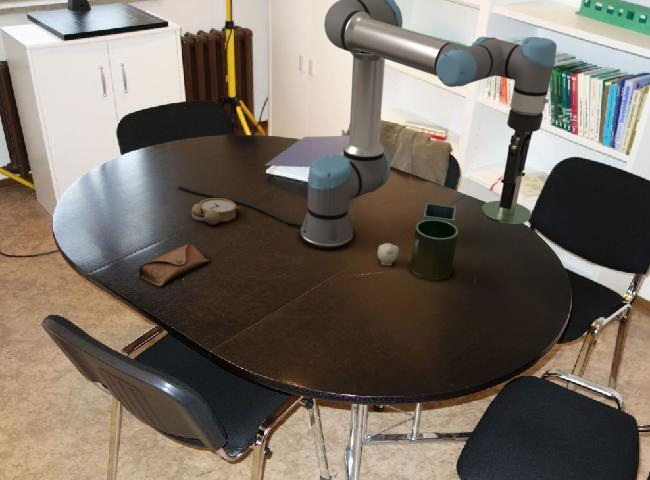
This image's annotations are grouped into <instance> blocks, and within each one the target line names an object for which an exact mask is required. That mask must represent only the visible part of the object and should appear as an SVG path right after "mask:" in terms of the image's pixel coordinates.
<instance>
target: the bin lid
mask: <svg viewBox="0 0 650 480" xmlns="http://www.w3.org/2000/svg"><path fill="white" fill-rule="evenodd" d="M522 180H523V176H522V173H521V172H519V171H518V173H517V177H516V183H515V184H516V187H515V192H514V197H513V202H512V207H511V209H506V208H501V207H500V202H501V197H502V191H503V186H504V183H502V188H501V193H500V198H499V200H492V201H488V202H486V203H484V204H483V205H482V206H481V213H482V215H484V217H486V218H487V219H489V220H491V221H493V222H496V223H500V224H504V225H505V224H506V225H521V224H525V223H527V222H528V221H530V220H531V217H532V212H531V210H530V209H529V208H527V207H525V206H524V205H522V204H519V203H518V198H519V194H520V188H521V184H522Z"/></svg>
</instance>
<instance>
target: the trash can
mask: <svg viewBox="0 0 650 480" xmlns="http://www.w3.org/2000/svg"><path fill="white" fill-rule="evenodd" d="M413 236H414V237H413V244H412V252H411V260H410V270H411V272H412V274H414V275H415V276H417V277H418V278H421V279H424V280H427V281H442V280H445V279H447V278H449V277H450V276H451V274H452V271H453V265H454V259H455V254H456V247H457V242H458V236H459V230H458V227H457V226H456V225H454V223H453V224H451V223H449V222H446V221H443V220H436V219H429V220H424V219H423V220H421V221H419V222H417V223H416V224H415V230H414V235H413Z"/></svg>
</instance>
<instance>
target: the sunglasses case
mask: <svg viewBox="0 0 650 480" xmlns="http://www.w3.org/2000/svg"><path fill="white" fill-rule="evenodd" d="M210 261H211V260H210V259H207V258H206V257H205V256H204V255H203V253H201V252H200V251H199V249H197V248H196V246H194V245H193V244H192V242H191V241H190V242H188V243H186V244H185V245H183V246H180V247H177V248H176V249H173V250H171V251H168V252H167V253H165V254H162V255H161V256H159V257H156V258H154V259H152V260H150V261H148V262H144V263H143V264H142V265H140V267H139V269H138V273H139V276H140V278H142V279H143V280H145V281H146V282H148V283H150V284H152V285H154V286H157V287H162V286H164V285H165V284H167V283H169V282H171V281H173V280H174V279H177V278H179V277H181V276H183V275H185V274H187V273H189V272H191V271H193V270H196V269H197V268H199V267H201V266H203V265H205V264H206V263H208V262H210Z"/></svg>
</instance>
